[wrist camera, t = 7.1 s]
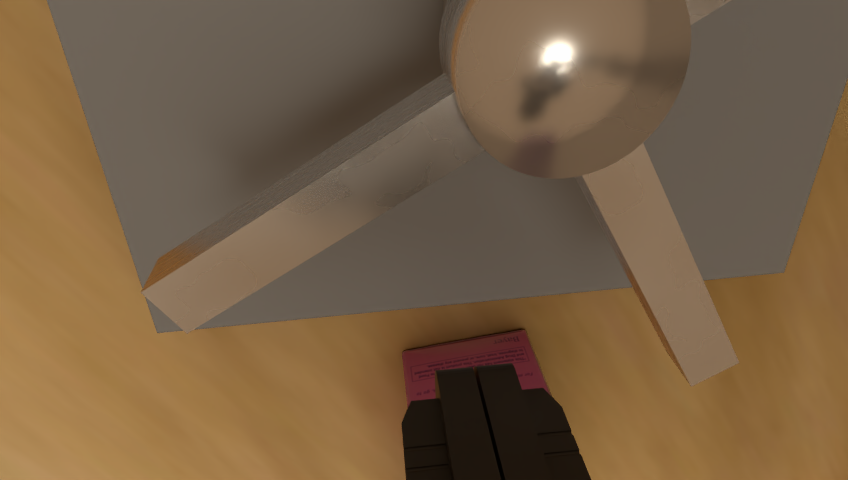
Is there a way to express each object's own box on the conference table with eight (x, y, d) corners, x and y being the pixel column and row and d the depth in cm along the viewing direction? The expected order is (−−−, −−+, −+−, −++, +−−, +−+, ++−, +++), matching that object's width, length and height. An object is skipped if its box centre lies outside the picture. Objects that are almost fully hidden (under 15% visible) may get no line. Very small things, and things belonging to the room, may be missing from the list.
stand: (966, -489, 15) (1355, -729, 9) (753, 246, 25) (870, 346, 20) (-77, -507, 13) (-415, -832, 7) (171, 300, 23) (115, 429, 18)
